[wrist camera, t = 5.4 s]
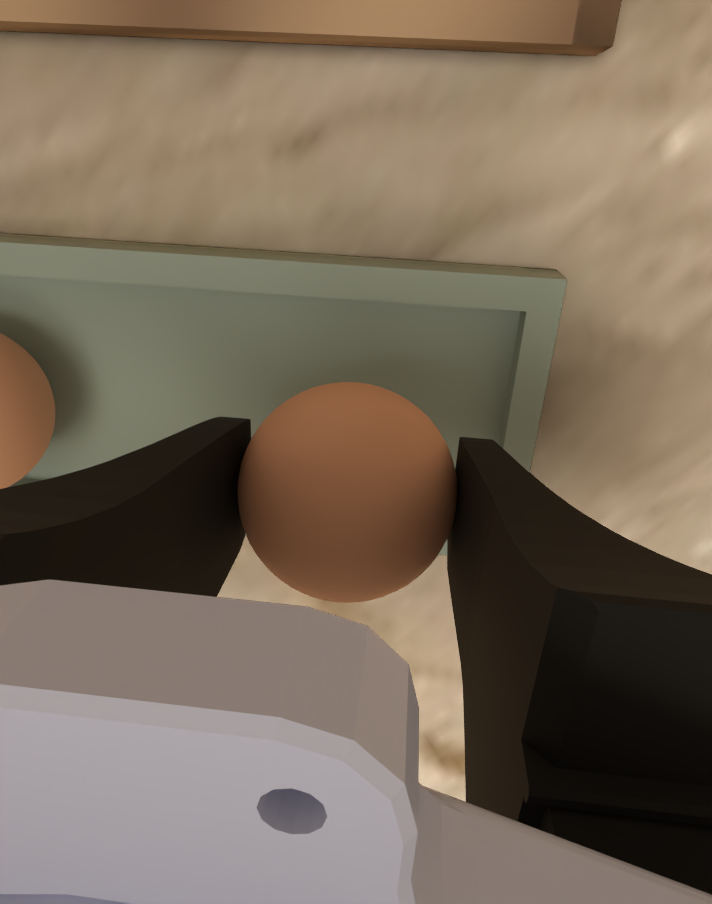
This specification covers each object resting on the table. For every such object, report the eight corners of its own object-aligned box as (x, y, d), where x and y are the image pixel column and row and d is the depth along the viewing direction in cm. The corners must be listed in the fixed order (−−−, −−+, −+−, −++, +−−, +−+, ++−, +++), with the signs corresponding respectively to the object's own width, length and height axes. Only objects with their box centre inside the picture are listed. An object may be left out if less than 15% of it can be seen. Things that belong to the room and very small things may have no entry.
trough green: (-89, 479, 18) (-122, 500, 17) (-168, 222, 15) (-214, 227, 14) (506, 535, 17) (512, 561, 16) (556, 269, 14) (567, 279, 13)
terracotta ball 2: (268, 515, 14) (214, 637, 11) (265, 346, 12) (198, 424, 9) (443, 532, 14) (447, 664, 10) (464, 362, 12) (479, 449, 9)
